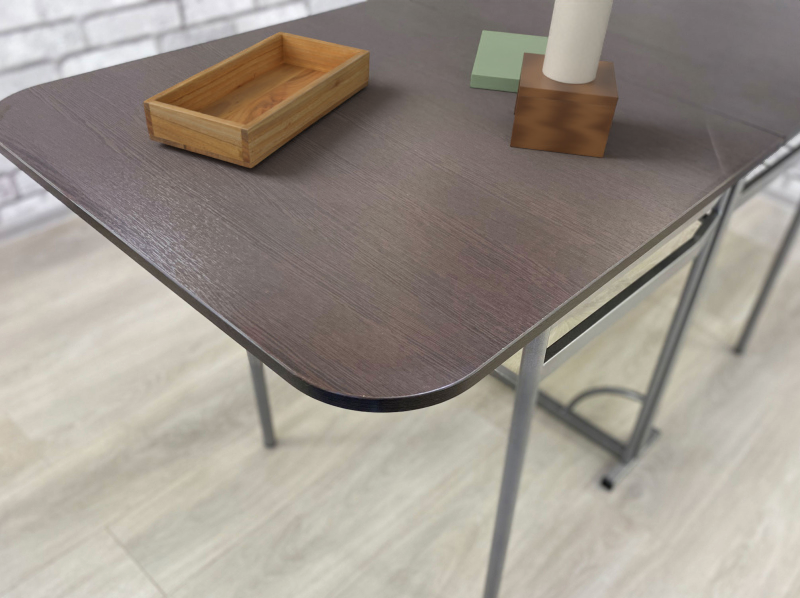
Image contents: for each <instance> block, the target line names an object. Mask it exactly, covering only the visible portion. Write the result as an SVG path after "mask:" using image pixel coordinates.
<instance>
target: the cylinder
mask: <svg viewBox="0 0 800 598" xmlns="http://www.w3.org/2000/svg"><path fill="white" fill-rule="evenodd" d="M614 1H615V0H554V4H553V10H552V15H551V20H550V27H549V31H548V36H547V37H548V42H547V47H546V53H545V58H544V64H543V69H542V72H543V74H544V75H545V76H547V77H548V78H550V79H552V80H555V81H558V82H562V83H569V84H584V83H589V82H591V81H593V80H594V79H595V77H596V73H597V69H598V64H599V61H601V55H602V51H603V47H604V44H605V39H606V36H607V35H606V34H607V30H608V26H609V21H610V18H611V14H612V9H613V5H614Z"/></svg>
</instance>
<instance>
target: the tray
mask: <svg viewBox="0 0 800 598" xmlns="http://www.w3.org/2000/svg"><path fill="white" fill-rule="evenodd" d="M370 54H371V51H370V50H367V49H363V48H358V47H353V46H349V45H344V44H339V43H335V42H330V41H326V40H321V39H316V38H312V37H307V36H303V35H298V34H293V33H289V32H284V31H279V32H276V33H274V34H272V35H270V36H268V37H266V38H265V39H263V40H261V41H259V42H256V43H255V44H253V45H251V46H249V47H247V48H245V49H243V50H240V51H239V52H237V53H235V54H233V55H231V56H229V57H226V58H225V59H223V60H221V61H218V62H217V63H215V64H213V65H211V66H209V67H208V68H205V69H204V70H202V71H199V72H197V73H196V74H194V75H192V76H190V77H188V78H186V79H183V80H182V81H180V82H177V83H176V84H174V85H172V86H170V87H168V88H166V89H164V90H162V91H161V92H158V93H156V94H155V95H152V96H150V97H149V98H146V99H145V100H144V101H142V104H143V111H144V116H145V117H144V118H145V122H146V128H147V133H148V135H149V136H148V137H149V139H150V140H151V141H153V142H158V143H160V144H164V145H168V146H171V147H175V148H178V149H181V150H185V151H188V152H193V153H196V154H199V155H204V156H206V157H210V158H214V159H216V160H220V161H224V162H228V163H231V164H234V165H237V166H242V167H245V168H248V169H252V168H254V167H255V166H257V165H258V164H260V163H261V162H262V161H263V160H265V159H266V158H267V157H269V156H270V155H271V154H273V153H274V152H276V151H277V150H279V148H281V147H282V146H284V145H285V144H287V143H288V142H289V141H291V140H292V139H294V138H295V137H296V136H298V135H299V134H301V133H302V132H303V131H305V130H306V129H307V128H309V127H311V126H312V125H313V124H315V123H316V122H317V121H318V120H320V119H321V118H323V117H325V116H326V115H328V114H329V113H330V112H331V111H333V110H335V109H336V108H337V107H339V106H340V105H341V104H343V103H344V102H346V101H348V99H350V98H352V97H353V96H355V95H356V94H357V93H359V92H360V91H361V90H363V89H364V88H366V87H367V86H369V82H370V81H369V80H370V61H371V60H370V59H371V57H370V56H371V55H370Z"/></svg>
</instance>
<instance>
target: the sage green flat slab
mask: <svg viewBox="0 0 800 598" xmlns="http://www.w3.org/2000/svg"><path fill="white" fill-rule="evenodd" d="M548 37H549V36H541V35H533V34H532V35H531V34H523V33H515V32H514V33H513V32H506V31H505V32H503V31H494V30H485V29H483V30H482V32H481V35H480V40H479V42H478V43H479V44H478V47H477V51H476V55H475V59H474V63H473V67H472V71H471V75H470V84H469V85H470V86H469V88H474V89H482V90H483V89H484V90H490V91H500V92H508V93H516V94H517V91H518V85H519V79H520V73H521V67H522V61H523V55H524V52H525V53H534V54H543V55H545V53H546V47H547V42H548Z"/></svg>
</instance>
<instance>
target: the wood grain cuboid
mask: <svg viewBox="0 0 800 598" xmlns="http://www.w3.org/2000/svg"><path fill="white" fill-rule="evenodd" d="M544 58H545V55H543V54H534V53H525V52H524V55H523V61H522V67H521V73H520V79H519V85H518V91H517V93H516V97H515V104H514V111H513V115H514V118H513V124H512V130H511V134H510V135H511V136H510V143H509V147H510V148H511V147H512V148H519V149H527V150H534V151H535V150H537V151H545V152H551V153H561V154H569V155H578V156H587V157H594V158H604V154H605V151H606V147H607V144H608V140H609V136H610V132H611V127H612V124H613V120H614V117H615V112H616V109H617V105H618V101H619V91H618V85H617V77H616V70H615V63H614V61H606V60H599V64H598V69H597V73H596V77H595V79H594V80H593V81H591V82H589V83H584V84H569V83H562V82H558V81H555V80H552V79H550V78H548V77H547V76H545V75H544V74H543V72H542V69H543V64H544Z"/></svg>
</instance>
